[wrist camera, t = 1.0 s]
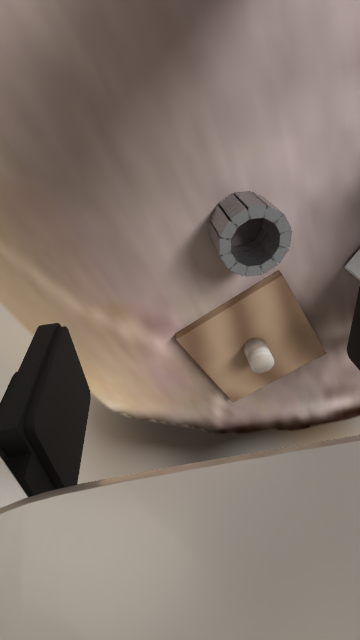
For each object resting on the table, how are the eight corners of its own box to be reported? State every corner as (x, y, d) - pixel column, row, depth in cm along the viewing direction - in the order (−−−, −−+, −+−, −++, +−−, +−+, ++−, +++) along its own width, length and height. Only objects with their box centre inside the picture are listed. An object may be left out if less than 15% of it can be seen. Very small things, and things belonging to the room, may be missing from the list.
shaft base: (278, 270, 37) (293, 289, 33) (322, 347, 44) (338, 370, 40) (175, 333, 40) (178, 357, 37) (231, 396, 47) (238, 420, 44)
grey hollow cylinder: (254, 177, 31) (272, 190, 27) (282, 231, 34) (302, 250, 30) (197, 217, 33) (206, 235, 29) (229, 265, 36) (241, 288, 32)
